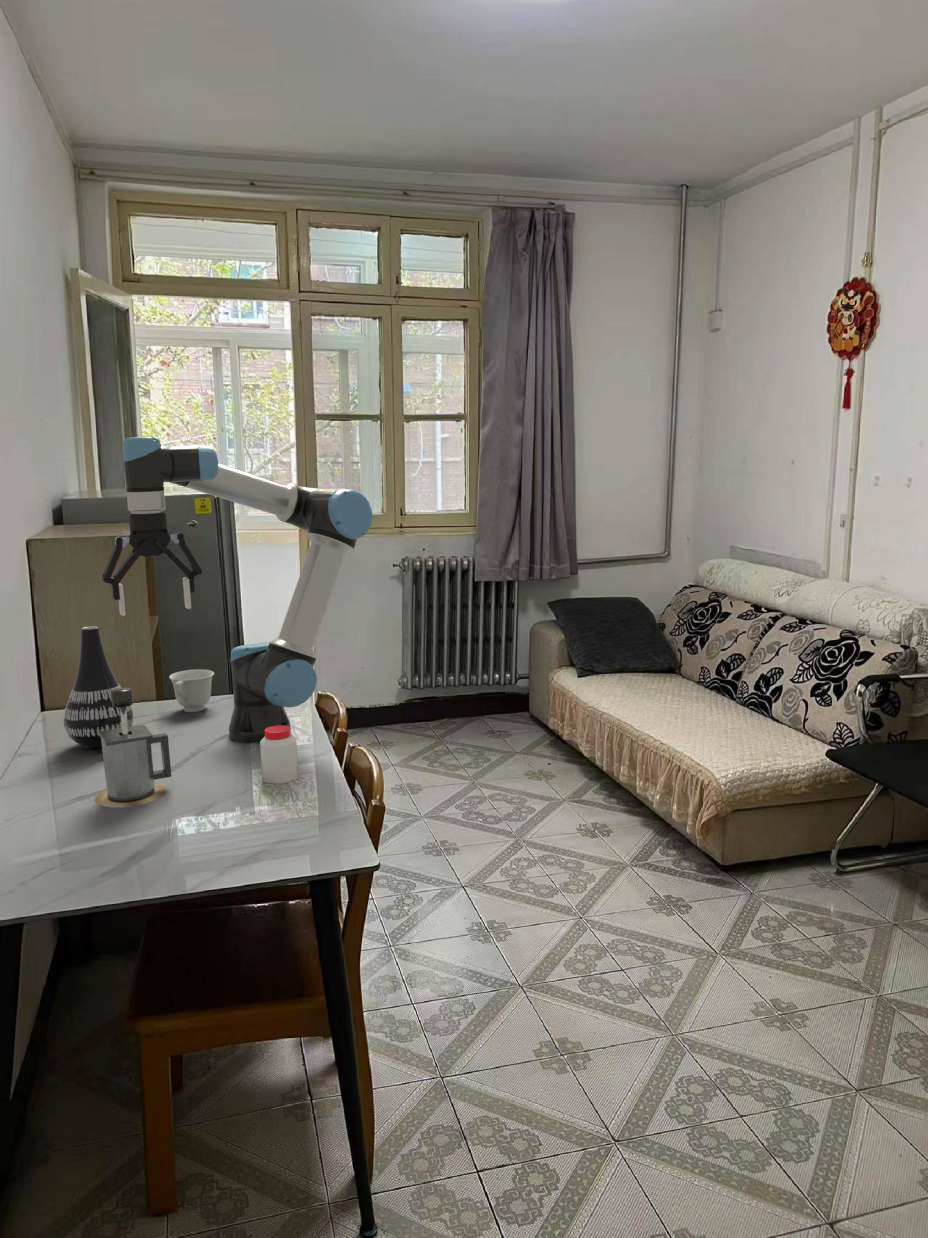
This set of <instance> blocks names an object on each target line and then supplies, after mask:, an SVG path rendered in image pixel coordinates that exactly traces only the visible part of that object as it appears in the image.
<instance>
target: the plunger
mask: <svg viewBox="0 0 928 1238" xmlns="http://www.w3.org/2000/svg"><path fill="white" fill-rule="evenodd" d="M111 699H112V706H113V707H120V715H121V725H122V735H129V732H128V722H127V711H126V707H127V706H130V705H131V706H132V705H134V699H133V689H132V688H131V687H121V688H118V689H114V690H112V691H111Z"/></svg>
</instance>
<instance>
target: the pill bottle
mask: <svg viewBox="0 0 928 1238" xmlns="http://www.w3.org/2000/svg"><path fill="white" fill-rule="evenodd" d="M290 727H291V726H290ZM290 727H289V726H284V725H277V726H271V727H268V728H266V729H265V730H264V731H265V737H264V738H263V739H262V740H261V741H260V742H259V747H260V751H259V752H260V762H261V778H262V781H263V782H265V783H267V784H272V785H274V784H277V785H280V784H287V783H290V782H293V781H295V780H297V779H298V778H299V763H298V759H299V758H298V744H297V743H298V742H297V738H296V737H295V736H294V735H293V734H291V733H292V731H291V732H290Z"/></svg>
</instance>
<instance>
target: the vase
mask: <svg viewBox="0 0 928 1238" xmlns="http://www.w3.org/2000/svg"><path fill="white" fill-rule="evenodd" d="M103 645H104V644H103V642H102V638H101V634H100V628H99V627H98V626H97V625H96V626H93V625H90V626H85V627H81V629H80V652H79V660H78V667H77V668H78V669H77V670H76V671H77V672H76V677H75V679H74V682H73V683H74V684H73V687H72V688H71V691H70V694H69V697H68V699H67V702H66V706H65V708H64V711H63V726H64V730H65V733H66V734H67V736H68V737H69V738H70V739H71V740H72V741H74V742H75V743H76V744H78V745H80V746H82V747H86V748H87V749H89V750H94V751H96V750H98V751H99V750H102V741H101V737H100V735H99V732H100V731H107V730H113V729H119V728H122V725H121V715H120V707H113V706H112V699H111V691H112V690H114V689H118V688H122V687H121V685H120V683H119V682H118V680H117V679H116V676H115V674H114V673H113V670H112V668H111V666H110V664H109V661H108V658H107V655H106V651H105V649H104V646H103ZM126 711H127V722H128V727H131V726H133V724H134V711H133V707H132V705H130V706H127V707H126Z"/></svg>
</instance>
